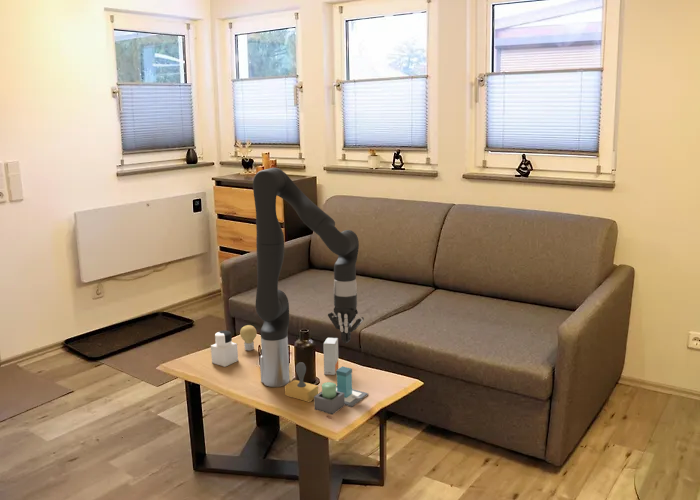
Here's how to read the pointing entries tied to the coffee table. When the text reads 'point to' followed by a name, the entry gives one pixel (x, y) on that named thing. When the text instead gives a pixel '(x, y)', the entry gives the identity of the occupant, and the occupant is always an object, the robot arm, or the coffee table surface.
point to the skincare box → (330, 356)
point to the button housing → (329, 403)
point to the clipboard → (354, 397)
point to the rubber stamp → (301, 386)
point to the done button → (329, 390)
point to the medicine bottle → (224, 349)
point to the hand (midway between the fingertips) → (346, 342)
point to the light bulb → (248, 336)
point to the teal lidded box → (344, 381)
